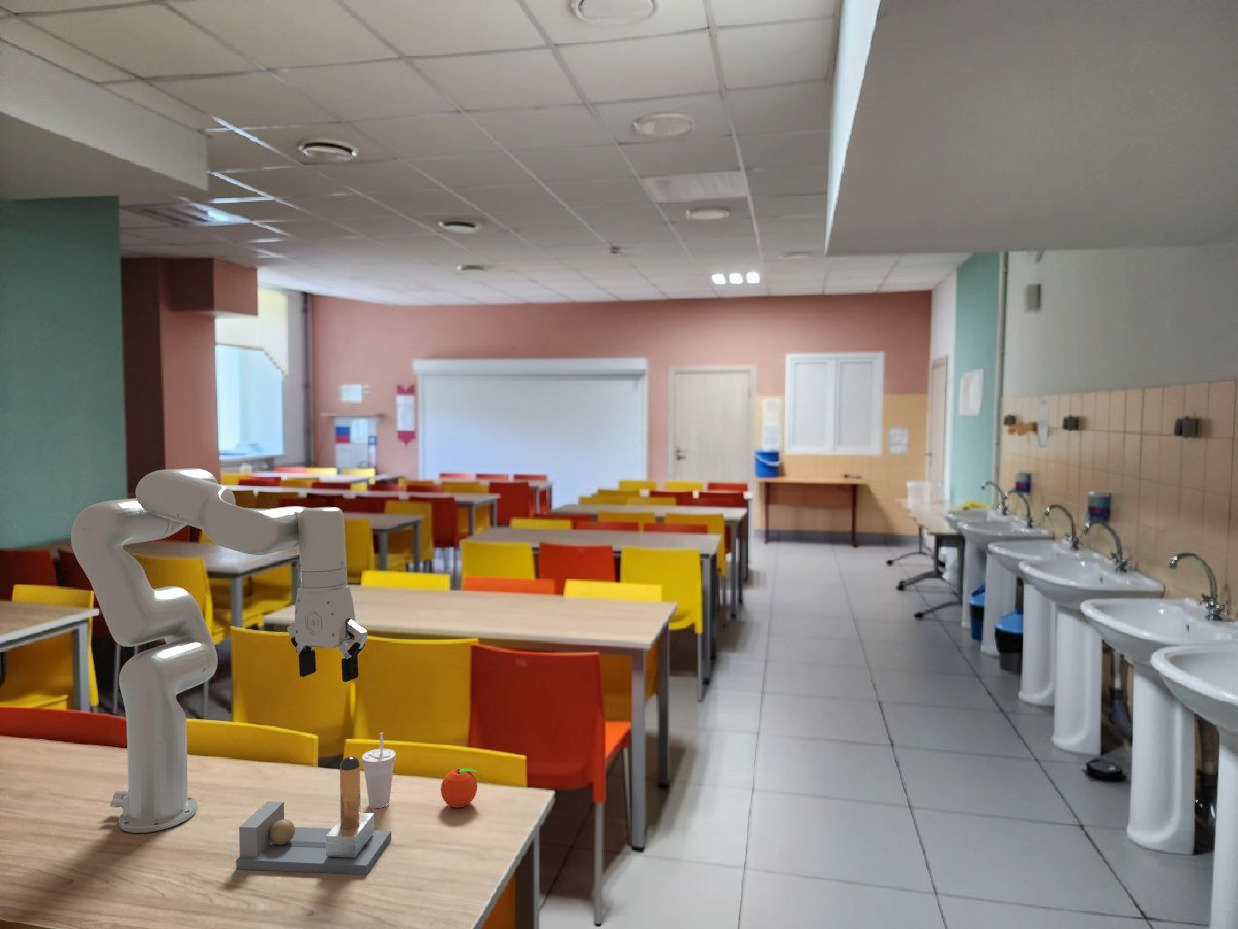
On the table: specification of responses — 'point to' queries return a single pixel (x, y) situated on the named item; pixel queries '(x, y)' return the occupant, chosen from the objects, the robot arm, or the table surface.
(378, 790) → the smoothie
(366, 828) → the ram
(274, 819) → the frame
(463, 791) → the clementine
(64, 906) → the table surface
